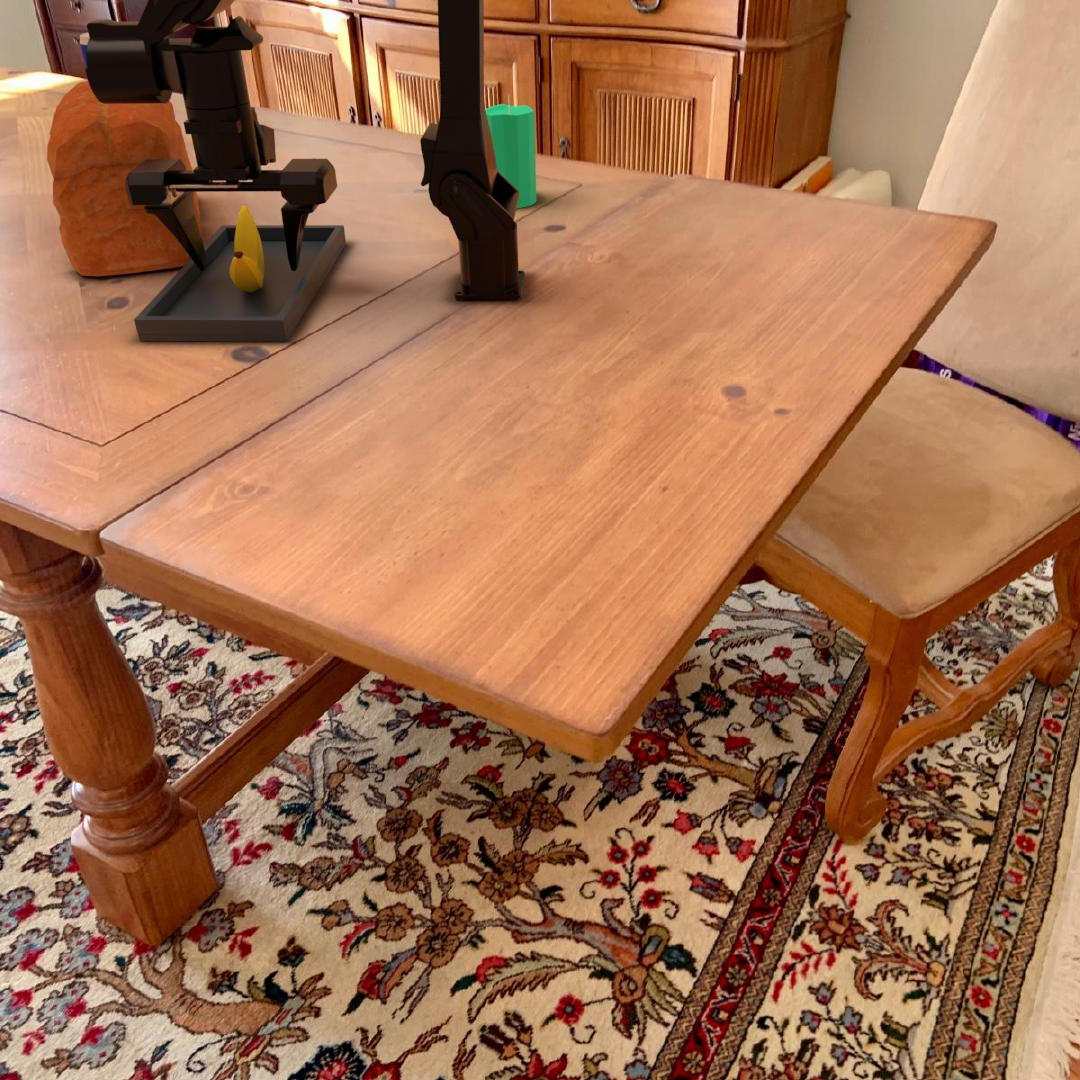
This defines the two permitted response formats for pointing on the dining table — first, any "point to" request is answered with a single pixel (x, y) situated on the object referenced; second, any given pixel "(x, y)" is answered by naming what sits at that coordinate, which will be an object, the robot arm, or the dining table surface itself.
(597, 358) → the dining table surface
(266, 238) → the tray
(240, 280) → the banana
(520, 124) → the candle
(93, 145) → the bread
